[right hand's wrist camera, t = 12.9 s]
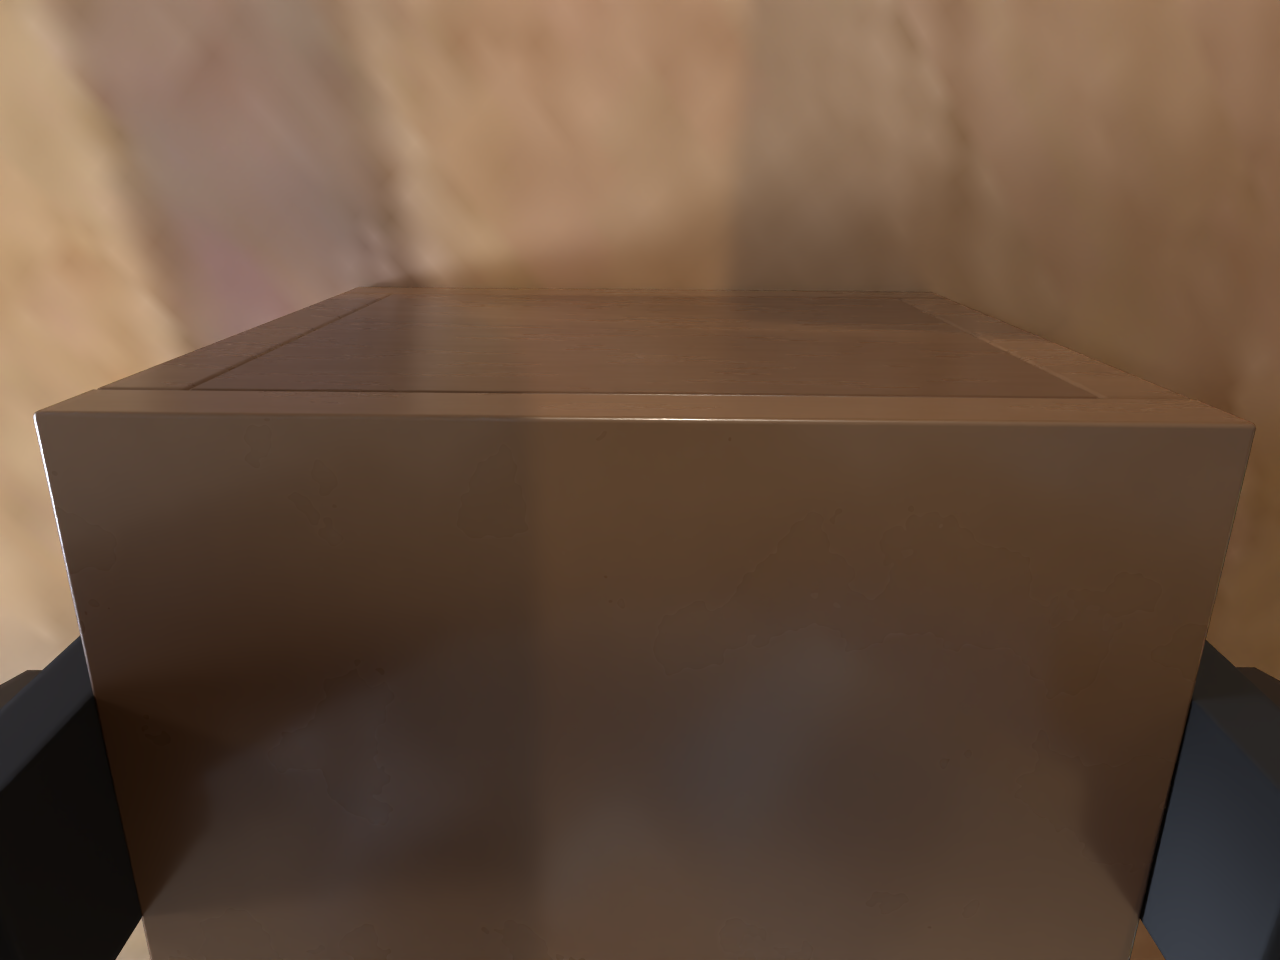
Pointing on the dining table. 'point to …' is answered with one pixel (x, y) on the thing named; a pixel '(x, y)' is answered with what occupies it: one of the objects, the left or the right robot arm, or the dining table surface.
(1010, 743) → the cabinet
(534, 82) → the dining table surface
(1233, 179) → the dining table surface
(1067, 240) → the dining table surface
